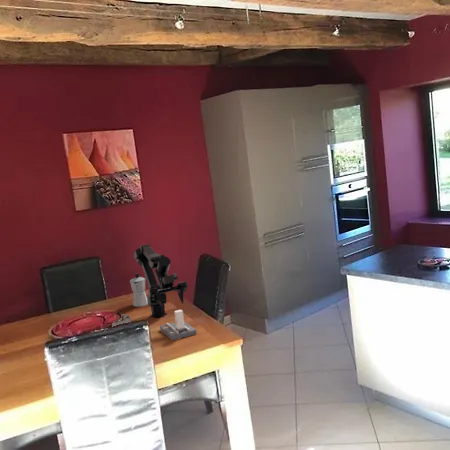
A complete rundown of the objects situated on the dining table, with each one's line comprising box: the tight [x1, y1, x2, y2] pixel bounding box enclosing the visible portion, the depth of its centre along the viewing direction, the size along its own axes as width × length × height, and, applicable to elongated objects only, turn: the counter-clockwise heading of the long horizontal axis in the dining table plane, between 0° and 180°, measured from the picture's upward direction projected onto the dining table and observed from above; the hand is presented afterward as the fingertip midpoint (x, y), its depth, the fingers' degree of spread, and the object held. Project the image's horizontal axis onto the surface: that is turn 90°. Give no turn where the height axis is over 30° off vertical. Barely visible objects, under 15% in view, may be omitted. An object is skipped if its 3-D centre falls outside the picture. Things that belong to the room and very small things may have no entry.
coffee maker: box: [129, 272, 148, 308], centre depth 281 cm, size 15×9×18 cm, turn 179°
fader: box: [173, 309, 186, 332], centre depth 229 cm, size 3×4×9 cm
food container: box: [111, 313, 132, 328], centre depth 231 cm, size 12×6×10 cm, turn 168°
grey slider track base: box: [159, 320, 197, 341], centre depth 234 cm, size 16×12×3 cm
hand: (173, 305), depth 234 cm, fingers open, 9 cm apart
